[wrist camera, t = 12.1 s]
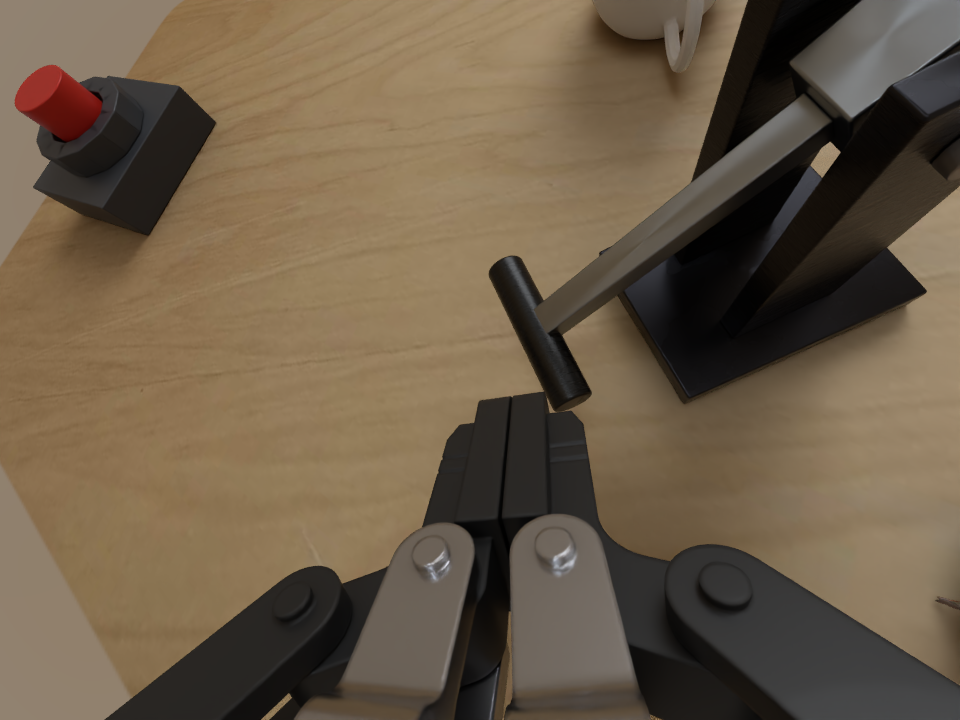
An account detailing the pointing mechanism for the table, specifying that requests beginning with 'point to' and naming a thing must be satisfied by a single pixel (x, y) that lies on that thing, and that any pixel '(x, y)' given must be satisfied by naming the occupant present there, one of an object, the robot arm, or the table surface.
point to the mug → (658, 23)
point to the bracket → (799, 216)
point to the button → (58, 103)
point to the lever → (736, 172)
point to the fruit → (949, 602)
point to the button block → (126, 152)
